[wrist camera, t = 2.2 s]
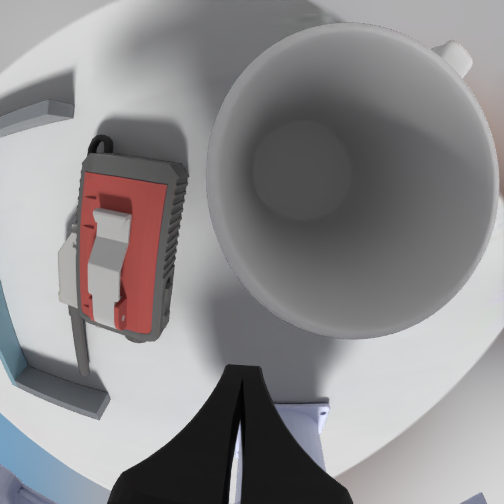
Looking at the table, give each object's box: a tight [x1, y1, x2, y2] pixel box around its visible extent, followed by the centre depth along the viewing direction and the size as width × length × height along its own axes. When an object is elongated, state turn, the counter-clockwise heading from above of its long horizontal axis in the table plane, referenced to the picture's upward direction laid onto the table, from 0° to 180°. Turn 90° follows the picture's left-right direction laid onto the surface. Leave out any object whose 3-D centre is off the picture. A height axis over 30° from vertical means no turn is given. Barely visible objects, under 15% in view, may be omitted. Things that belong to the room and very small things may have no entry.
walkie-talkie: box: [58, 135, 189, 376], centre depth 17 cm, size 9×4×20 cm
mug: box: [206, 23, 499, 339], centre depth 10 cm, size 10×7×12 cm, turn 141°
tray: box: [0, 99, 110, 420], centre depth 17 cm, size 26×12×3 cm, turn 177°
